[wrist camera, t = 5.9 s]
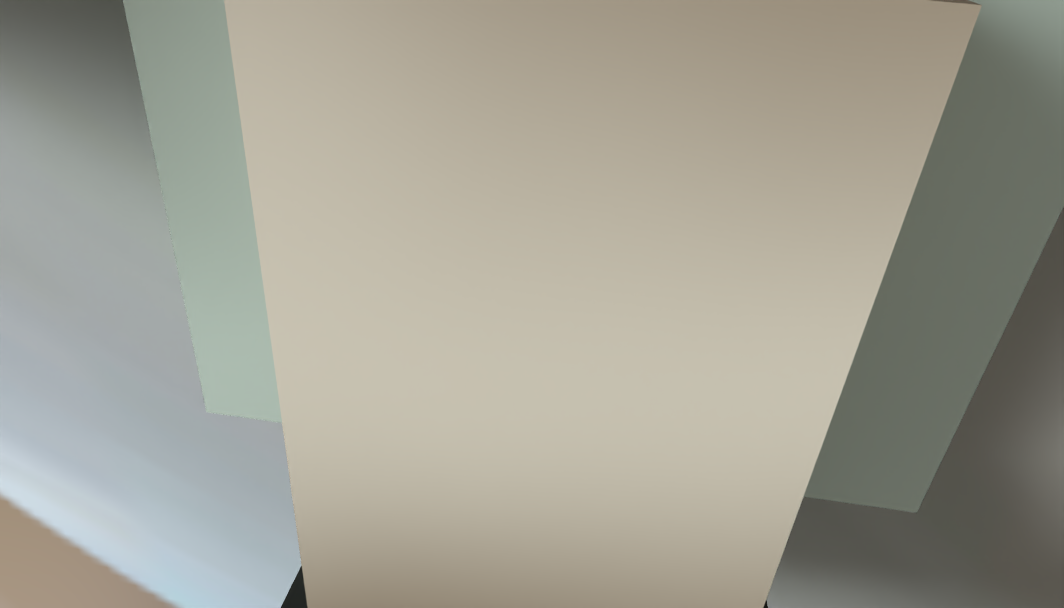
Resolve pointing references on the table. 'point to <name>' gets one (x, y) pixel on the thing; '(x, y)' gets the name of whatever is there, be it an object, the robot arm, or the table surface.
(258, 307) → the tunnel deck
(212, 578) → the table surface
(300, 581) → the robot arm
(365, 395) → the birch block
